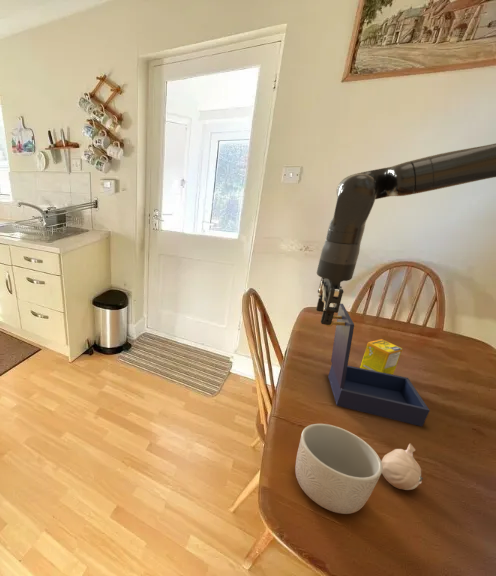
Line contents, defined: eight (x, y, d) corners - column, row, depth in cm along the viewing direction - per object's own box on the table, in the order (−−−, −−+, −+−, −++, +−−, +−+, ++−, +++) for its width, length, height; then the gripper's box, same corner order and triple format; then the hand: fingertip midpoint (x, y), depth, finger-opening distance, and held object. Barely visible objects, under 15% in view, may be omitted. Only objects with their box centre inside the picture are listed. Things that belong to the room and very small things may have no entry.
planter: (287, 454, 69) (297, 416, 65) (354, 474, 65) (369, 434, 61) (294, 507, 59) (306, 465, 55) (374, 534, 54) (395, 490, 50)
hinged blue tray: (401, 393, 88) (408, 377, 86) (422, 427, 76) (429, 410, 74) (327, 377, 95) (332, 362, 93) (336, 406, 83) (341, 390, 81)
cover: (342, 303, 86) (320, 302, 89) (354, 324, 75) (328, 322, 77) (334, 361, 92) (313, 358, 94) (343, 389, 81) (320, 385, 83)
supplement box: (370, 368, 98) (381, 338, 94) (391, 380, 93) (403, 348, 89) (357, 372, 96) (367, 341, 93) (377, 384, 91) (389, 352, 87)
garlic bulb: (425, 494, 61) (441, 464, 58) (397, 499, 60) (412, 469, 57) (392, 464, 67) (404, 436, 64) (366, 468, 66) (377, 440, 63)
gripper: (364, 268, 70) (345, 332, 76) (349, 253, 82) (334, 309, 88) (324, 264, 73) (309, 326, 79) (316, 250, 85) (304, 305, 91)
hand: (322, 317), depth 83 cm, fingers open, 8 cm apart
